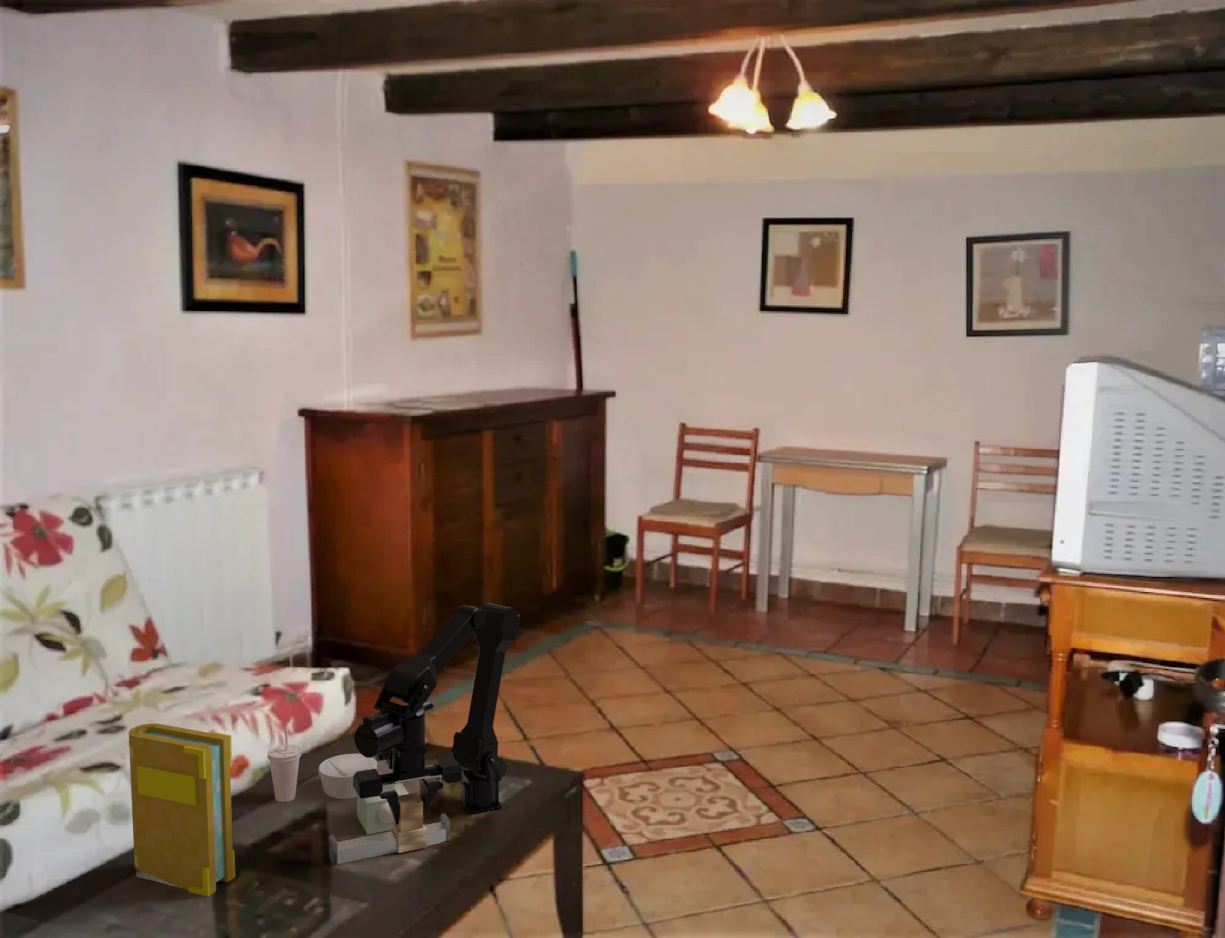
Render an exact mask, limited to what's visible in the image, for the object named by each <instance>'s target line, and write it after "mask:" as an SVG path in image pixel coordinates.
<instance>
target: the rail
mask: <svg viewBox="0 0 1225 938" xmlns="http://www.w3.org/2000/svg"><path fill="white" fill-rule="evenodd" d="M424 826H425V827H426V829H427V847H429V846H433V845H437V844H442V843H441V842H444V841H449V840H450V841H451V819H450V817H448V816H447V814H446V813H445V812H444V813H441V814H440V821H439V822H433V823H430V824H429V823H427V824H424ZM450 841H449V842H450ZM444 843H445V842H444ZM328 853H329V854H328V855H329V859H330V861H331V864H332V866H337V865H340V864H341V865H342V864H345V863H352V862H355V861H360V860H366V859H370V858H375V857H380V856H383V855H390V854H393V853H399V852H398V837H397V836H396V834H395V832H394V831H392V830H391V831H389V832H388V831H386V832H382V833H377V834H372V835H371V834H370V835H367V836H362V837H357V838H353V839H347V840H342V841H341V840H340V841H337V839H336V836H335V835H334V834H331V835H328Z"/></svg>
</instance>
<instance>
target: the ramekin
mask: <svg viewBox="0 0 1225 938" xmlns="http://www.w3.org/2000/svg"><path fill="white" fill-rule="evenodd" d="M377 768H378V762H377V760H376V758H374V757H371V758H367V757H364V756H363V755H362V754H361V753H346V754H345V753H344V754H339V755H335V756H331V757H329V758H328V759H325V760H324V761H322V762H321V763H320V764H319V766H318V776H320V781H321V785H322V789H323V792H324V793H325V794H326V795H327V796H328V797H330V798H332V799H333V798H334V799H338V800H352V799H354V798H356V799H357V792H356V790H355V789H354V787H353V776H354V774H355V773H356V772H357V771H363V770H369V769H376V770H377Z"/></svg>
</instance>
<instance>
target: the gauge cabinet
mask: <svg viewBox="0 0 1225 938" xmlns="http://www.w3.org/2000/svg"><path fill="white" fill-rule="evenodd" d="M394 789H395V790H396V792H397V794H398V796H400V795H406V794H410V793H409V792H408V791H407V789H406V787H405V786H404V785H403V783H397V784H394ZM356 816H357V818H358V820H359V822H360V824H361V825H362V827H363V829H364V831H365V833H366V835H371V834H372V835H373V834H375V833H377V834H378V833H381V832H382V833H383V832H388V831H392V827H391V822H393V821H394V818H393V815H392V813H391V810H390V807H389V804H388V802H387V800H386V799H381V798H380V796H378V797H370V798H364V799H363V798H359V796H358V794H357V797H356Z"/></svg>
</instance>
